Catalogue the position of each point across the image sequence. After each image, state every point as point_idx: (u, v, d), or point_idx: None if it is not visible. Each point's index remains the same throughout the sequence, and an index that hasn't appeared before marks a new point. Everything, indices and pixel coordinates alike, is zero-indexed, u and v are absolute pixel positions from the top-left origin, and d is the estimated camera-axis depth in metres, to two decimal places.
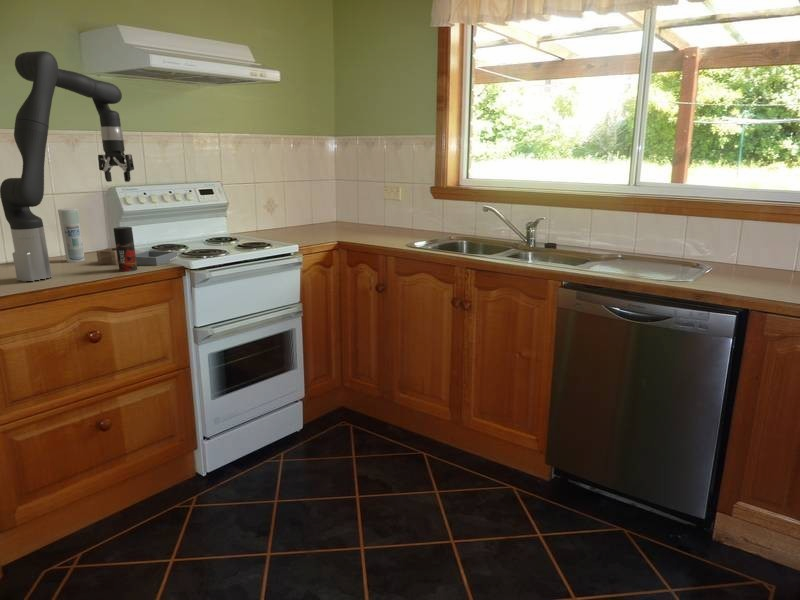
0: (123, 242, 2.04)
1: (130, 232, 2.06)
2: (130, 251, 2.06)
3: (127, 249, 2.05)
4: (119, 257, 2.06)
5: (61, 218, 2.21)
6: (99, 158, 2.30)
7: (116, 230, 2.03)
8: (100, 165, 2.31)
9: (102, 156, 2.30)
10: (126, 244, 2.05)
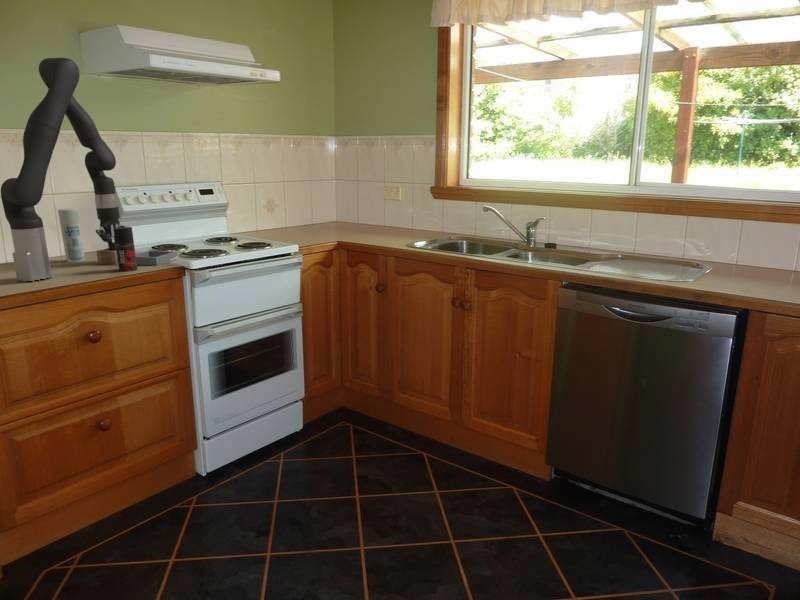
0: (123, 242, 2.04)
1: (130, 232, 2.06)
2: (130, 251, 2.06)
3: (127, 249, 2.05)
4: (119, 257, 2.06)
5: (61, 218, 2.21)
6: (103, 232, 2.16)
7: (116, 230, 2.03)
8: (107, 237, 2.18)
9: (102, 229, 2.16)
10: (126, 244, 2.05)
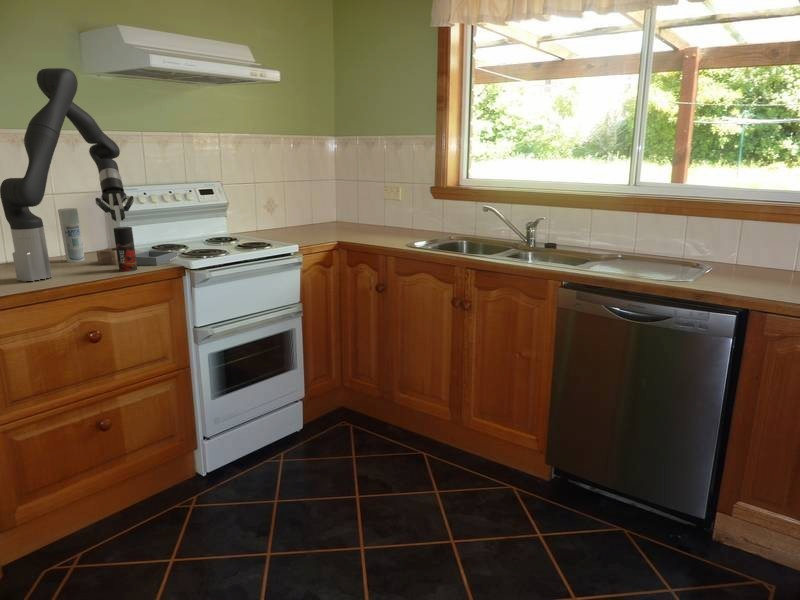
0: (123, 242, 2.04)
1: (130, 232, 2.06)
2: (130, 251, 2.06)
3: (127, 249, 2.05)
4: (119, 257, 2.06)
5: (61, 218, 2.21)
6: (98, 200, 2.14)
7: (116, 230, 2.03)
8: (104, 204, 2.14)
9: (99, 199, 2.16)
10: (126, 244, 2.05)
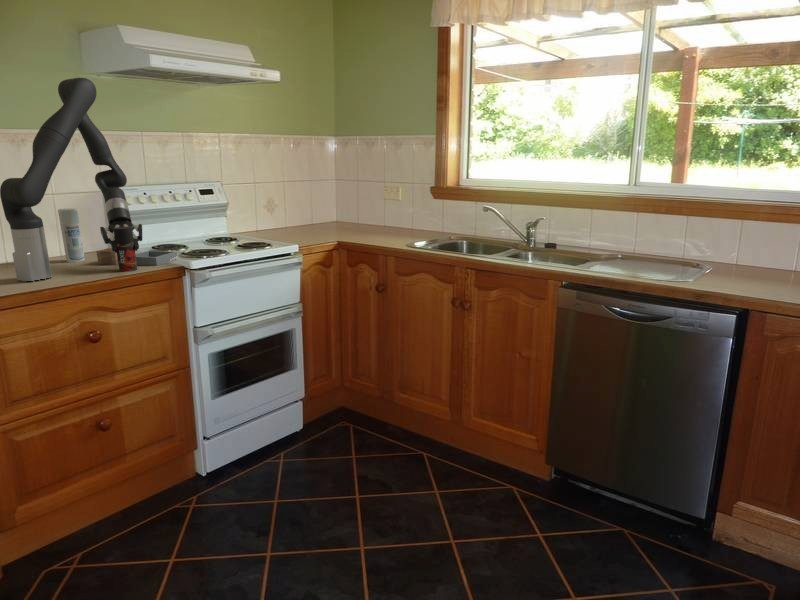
0: (123, 242, 2.04)
1: (130, 232, 2.06)
2: (130, 251, 2.06)
3: (127, 249, 2.05)
4: (119, 257, 2.06)
5: (61, 218, 2.21)
6: (102, 229, 2.06)
7: (116, 230, 2.03)
8: (105, 235, 2.05)
9: (105, 228, 2.07)
10: (126, 244, 2.05)
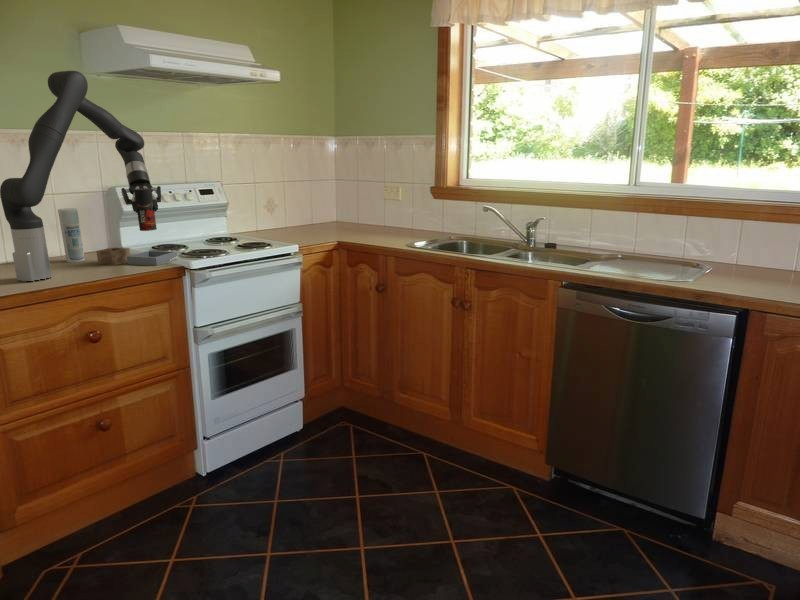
0: (143, 202, 2.15)
1: (150, 193, 2.16)
2: (150, 211, 2.17)
3: (147, 209, 2.16)
4: (139, 217, 2.16)
5: (61, 218, 2.21)
6: (123, 190, 2.16)
7: (137, 191, 2.14)
8: (126, 196, 2.16)
9: (125, 190, 2.18)
10: (146, 205, 2.15)
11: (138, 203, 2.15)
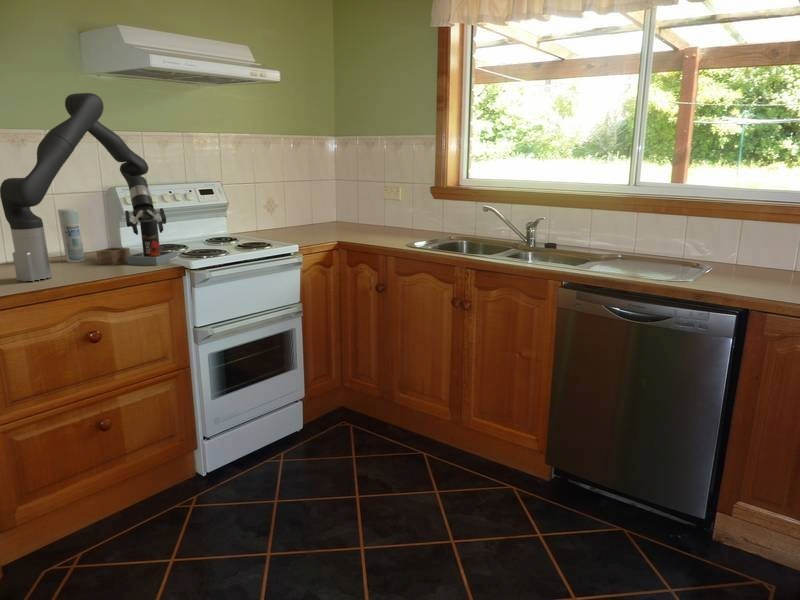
0: (149, 233, 2.19)
1: (155, 224, 2.20)
2: (155, 242, 2.21)
3: (152, 241, 2.20)
4: (144, 248, 2.20)
5: (61, 218, 2.21)
6: (127, 213, 2.24)
7: (143, 222, 2.17)
8: (128, 218, 2.23)
9: (129, 212, 2.26)
10: (152, 236, 2.19)
11: (144, 234, 2.19)
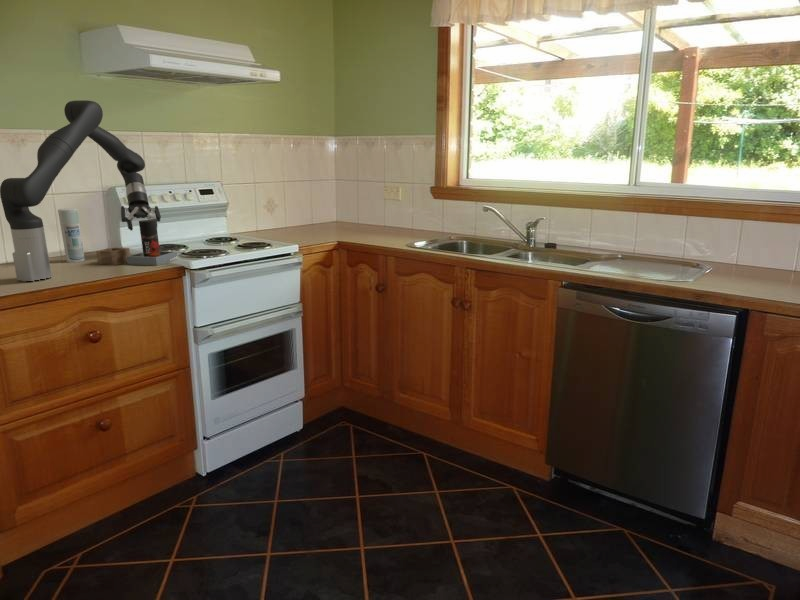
0: (148, 233, 2.19)
1: (154, 224, 2.20)
2: (154, 242, 2.21)
3: (152, 241, 2.20)
4: (144, 248, 2.20)
5: (61, 218, 2.21)
6: (122, 209, 2.30)
7: (142, 222, 2.17)
8: (123, 214, 2.29)
9: (125, 208, 2.31)
10: (151, 236, 2.19)
11: (143, 234, 2.19)
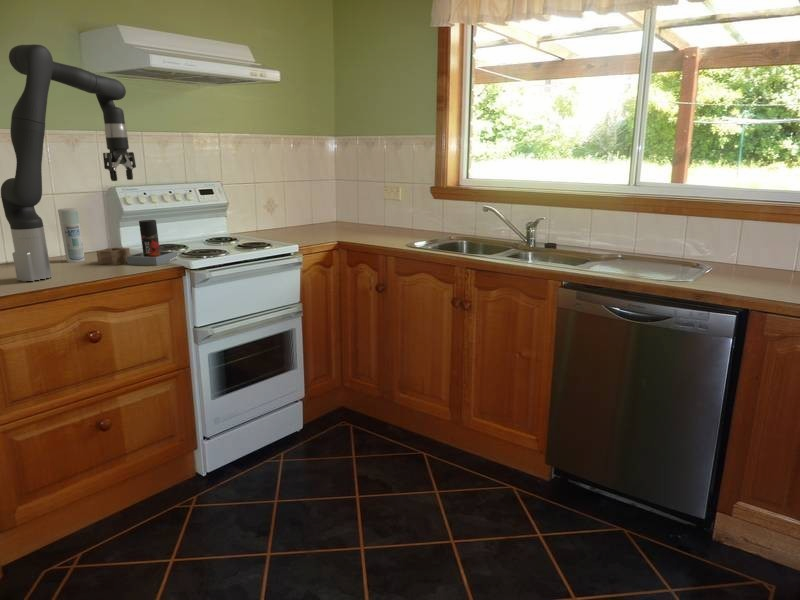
0: (148, 234, 2.19)
1: (154, 224, 2.20)
2: (155, 242, 2.21)
3: (152, 241, 2.20)
4: (144, 248, 2.20)
5: (61, 218, 2.21)
6: (110, 156, 2.17)
7: (142, 223, 2.17)
8: (110, 164, 2.18)
9: None
10: (151, 236, 2.19)
11: (143, 234, 2.19)
